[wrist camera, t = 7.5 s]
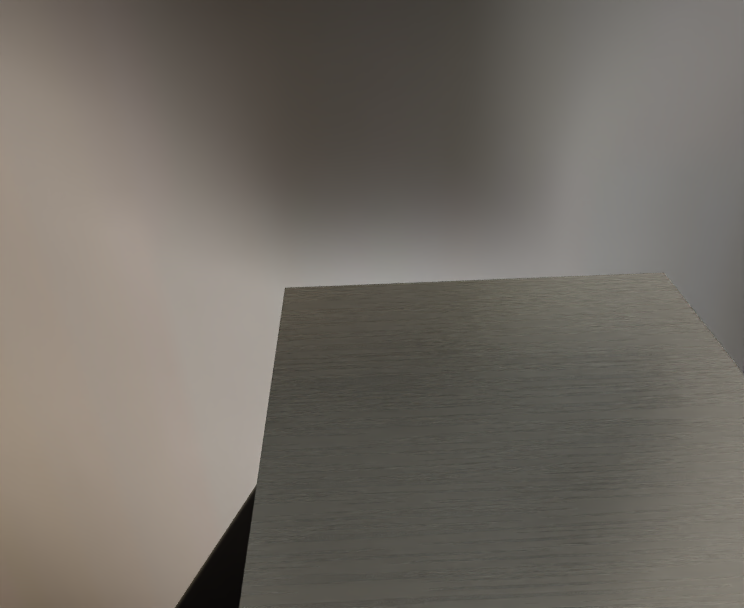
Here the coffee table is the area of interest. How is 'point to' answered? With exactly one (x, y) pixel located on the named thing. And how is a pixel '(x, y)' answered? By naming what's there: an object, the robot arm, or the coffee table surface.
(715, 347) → the block
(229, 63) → the coffee table surface
